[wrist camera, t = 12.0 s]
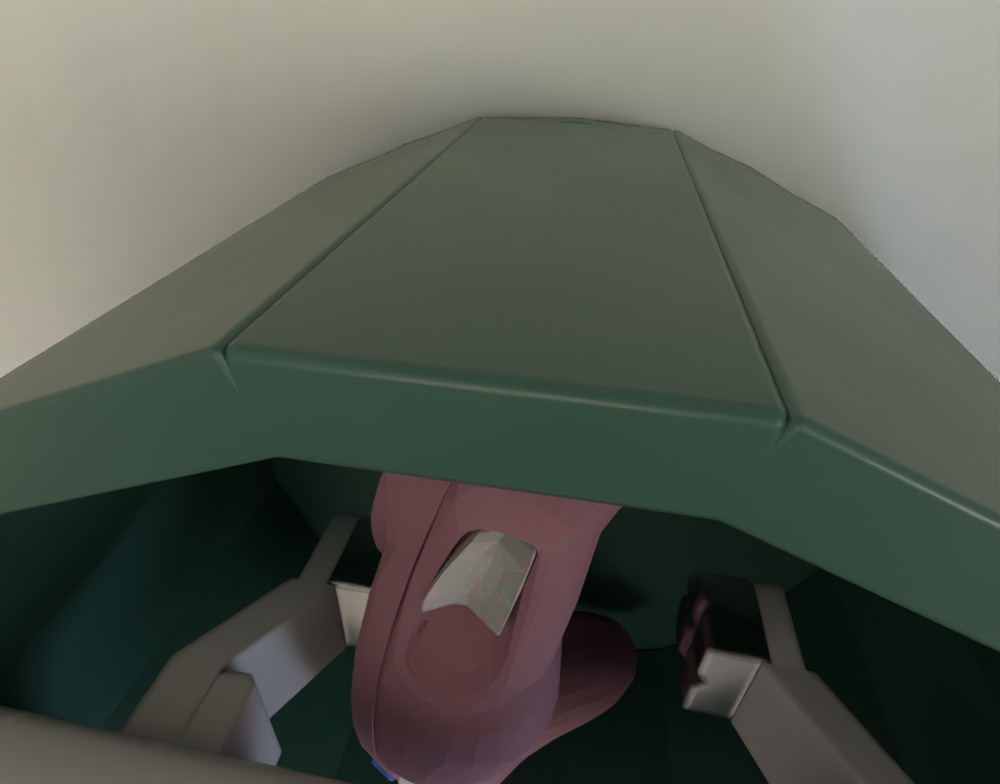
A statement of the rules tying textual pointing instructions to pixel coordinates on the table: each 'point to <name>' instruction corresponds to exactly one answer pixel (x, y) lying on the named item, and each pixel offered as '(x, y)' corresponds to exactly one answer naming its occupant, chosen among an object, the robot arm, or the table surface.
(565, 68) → the table surface
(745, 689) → the robot arm
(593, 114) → the table surface
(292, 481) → the tin
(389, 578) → the video game controller
